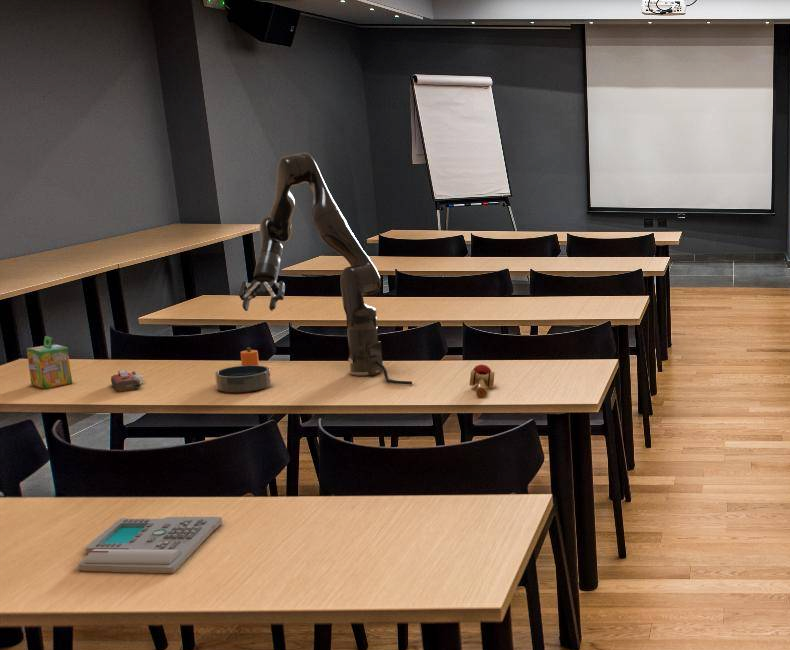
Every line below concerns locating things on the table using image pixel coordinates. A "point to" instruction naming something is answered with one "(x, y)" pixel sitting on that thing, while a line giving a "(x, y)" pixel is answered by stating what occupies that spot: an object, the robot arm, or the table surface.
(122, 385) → the grey and red device
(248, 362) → the squash
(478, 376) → the kendama
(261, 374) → the bowl
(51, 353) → the chalk box
